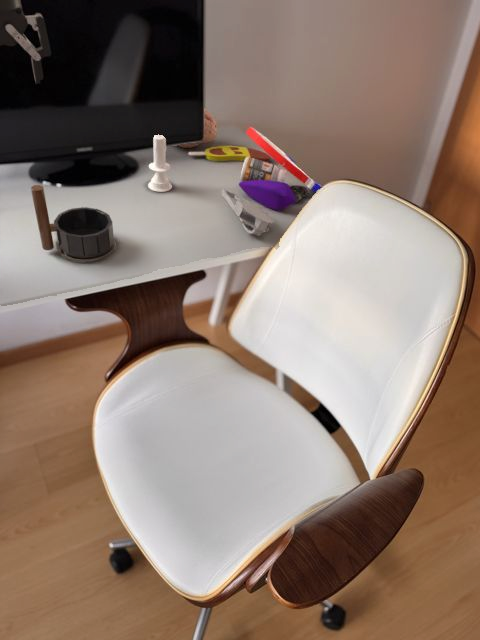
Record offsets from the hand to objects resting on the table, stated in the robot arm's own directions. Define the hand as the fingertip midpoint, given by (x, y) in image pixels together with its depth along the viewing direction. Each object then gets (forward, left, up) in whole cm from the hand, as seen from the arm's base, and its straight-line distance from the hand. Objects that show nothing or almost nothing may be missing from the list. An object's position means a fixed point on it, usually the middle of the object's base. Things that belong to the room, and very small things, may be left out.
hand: (11, 83), depth 94 cm
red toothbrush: (+57, +1, -21) cm, 61 cm away
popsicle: (+38, +14, -24) cm, 47 cm away
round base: (+7, -16, -24) cm, 30 cm away
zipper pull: (+41, -14, -20) cm, 48 cm away
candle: (+27, +3, -25) cm, 37 cm away
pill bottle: (+46, +1, -21) cm, 50 cm away
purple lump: (+44, -3, -23) cm, 49 cm away
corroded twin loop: (+56, -8, -25) cm, 62 cm away
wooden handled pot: (+5, -16, -23) cm, 29 cm away
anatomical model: (+37, +28, -26) cm, 54 cm away
